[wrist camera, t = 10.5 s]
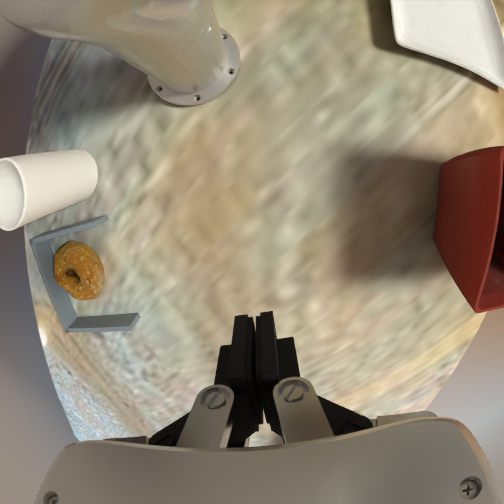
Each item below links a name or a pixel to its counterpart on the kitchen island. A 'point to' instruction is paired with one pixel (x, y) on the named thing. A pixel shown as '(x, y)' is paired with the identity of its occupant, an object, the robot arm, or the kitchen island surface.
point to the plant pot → (473, 225)
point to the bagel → (79, 270)
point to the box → (60, 294)
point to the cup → (43, 184)
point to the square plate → (453, 33)
